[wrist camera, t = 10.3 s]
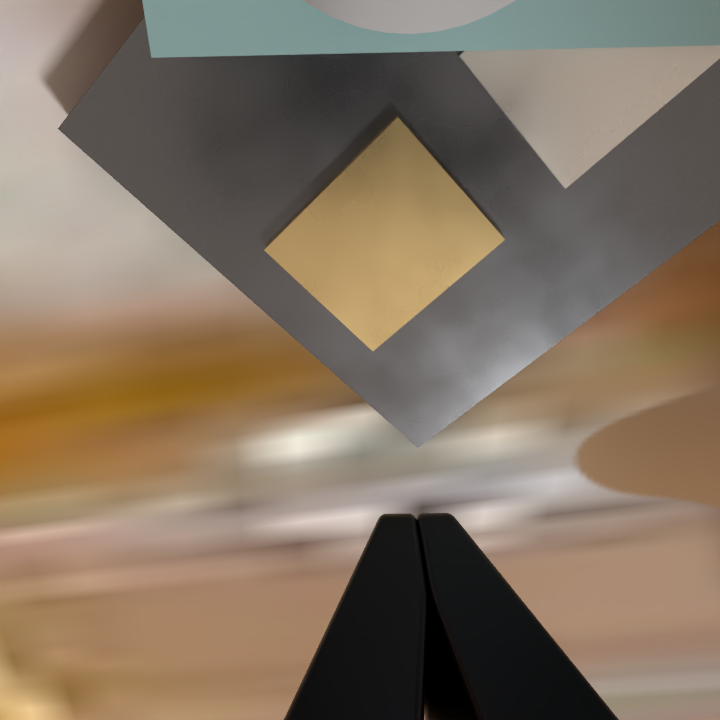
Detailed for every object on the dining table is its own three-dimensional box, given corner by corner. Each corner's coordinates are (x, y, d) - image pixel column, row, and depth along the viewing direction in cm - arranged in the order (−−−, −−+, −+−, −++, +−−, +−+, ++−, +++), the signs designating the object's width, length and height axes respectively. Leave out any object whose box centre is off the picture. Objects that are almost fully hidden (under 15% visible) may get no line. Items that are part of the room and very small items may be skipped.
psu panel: (1097, -92, 15) (1409, -139, 10) (415, 430, 22) (430, 533, 18) (845, -865, 10) (1225, -1550, 6) (73, 123, 17) (-25, 159, 13)
